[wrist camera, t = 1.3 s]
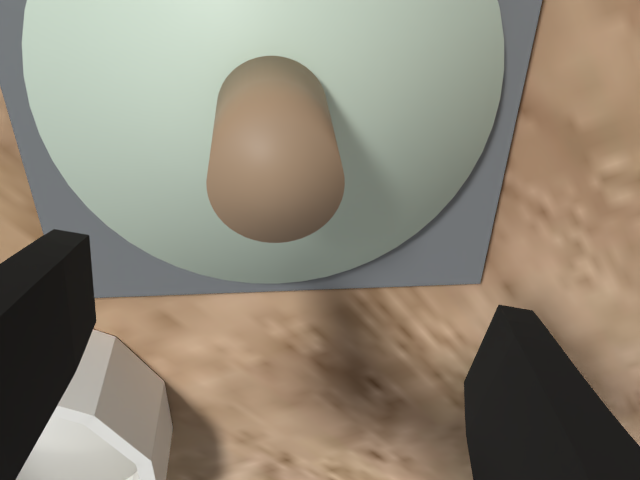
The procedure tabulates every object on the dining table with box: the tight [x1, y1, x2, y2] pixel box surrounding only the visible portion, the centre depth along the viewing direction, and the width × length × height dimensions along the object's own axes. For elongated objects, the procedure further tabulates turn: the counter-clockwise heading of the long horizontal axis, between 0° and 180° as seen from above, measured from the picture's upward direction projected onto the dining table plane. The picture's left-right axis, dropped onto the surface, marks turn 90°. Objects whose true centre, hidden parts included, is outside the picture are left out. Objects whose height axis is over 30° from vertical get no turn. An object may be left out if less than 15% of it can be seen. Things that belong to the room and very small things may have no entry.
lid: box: [22, 0, 504, 284], centre depth 17 cm, size 14×14×6 cm
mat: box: [0, 0, 542, 298], centre depth 19 cm, size 16×16×1 cm
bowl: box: [16, 329, 173, 480], centre depth 26 cm, size 12×12×4 cm
